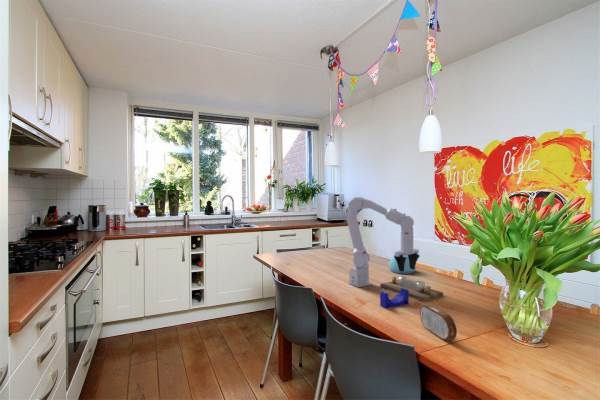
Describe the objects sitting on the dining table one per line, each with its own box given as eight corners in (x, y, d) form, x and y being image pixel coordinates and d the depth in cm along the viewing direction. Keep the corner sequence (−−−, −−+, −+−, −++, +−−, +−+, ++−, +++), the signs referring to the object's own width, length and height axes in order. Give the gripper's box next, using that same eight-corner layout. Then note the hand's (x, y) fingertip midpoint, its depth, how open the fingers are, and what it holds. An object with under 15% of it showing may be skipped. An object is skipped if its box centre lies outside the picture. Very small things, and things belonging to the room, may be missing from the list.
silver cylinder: (397, 285, 146) (397, 277, 146) (402, 284, 148) (402, 276, 148) (421, 293, 134) (421, 284, 134) (426, 291, 136) (426, 282, 136)
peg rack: (423, 301, 128) (423, 291, 128) (380, 287, 148) (380, 277, 148) (442, 295, 135) (442, 285, 135) (399, 282, 155) (399, 273, 155)
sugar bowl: (419, 274, 171) (419, 254, 171) (392, 274, 171) (392, 254, 171) (410, 268, 186) (410, 249, 186) (385, 268, 186) (385, 249, 186)
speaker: (457, 344, 91) (457, 317, 91) (448, 345, 91) (448, 318, 90) (425, 324, 106) (426, 300, 106) (418, 324, 105) (418, 300, 105)
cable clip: (401, 301, 129) (401, 287, 129) (408, 304, 125) (408, 290, 125) (377, 305, 124) (377, 290, 124) (385, 308, 120) (385, 294, 120)
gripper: (403, 244, 137) (403, 273, 137) (424, 241, 144) (423, 269, 144) (391, 242, 143) (391, 270, 143) (411, 239, 150) (411, 266, 150)
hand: (406, 270), depth 144 cm, fingers open, 7 cm apart
